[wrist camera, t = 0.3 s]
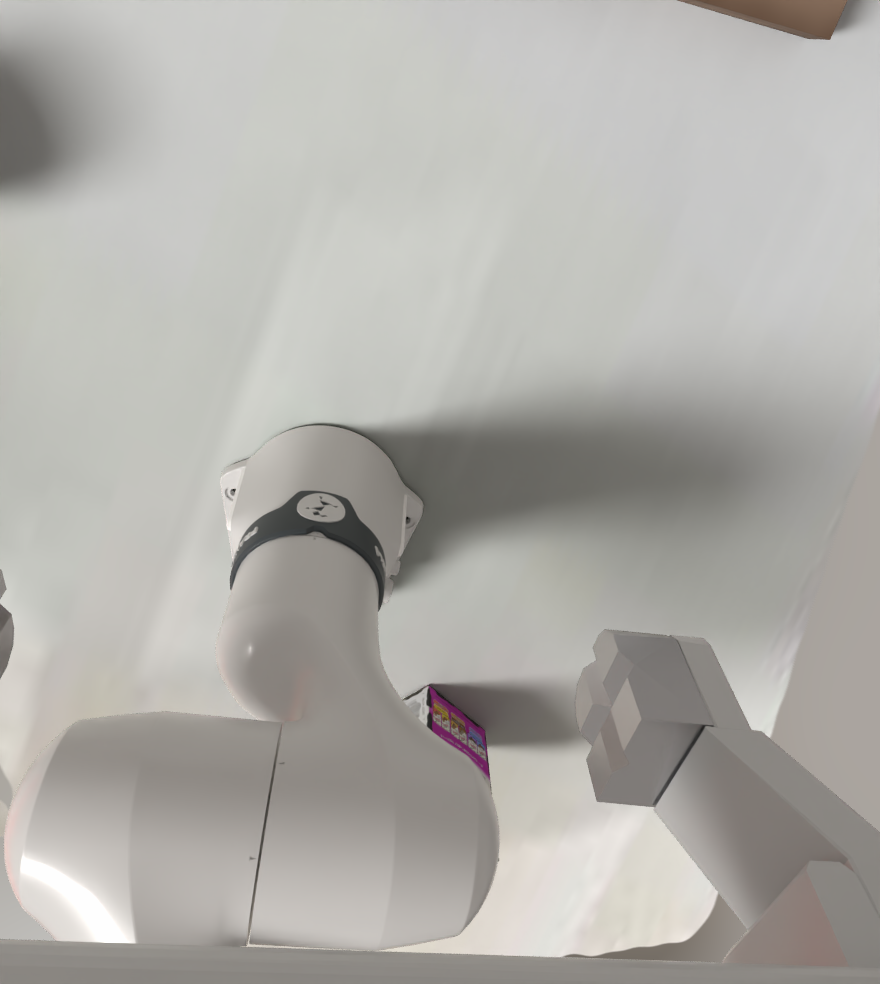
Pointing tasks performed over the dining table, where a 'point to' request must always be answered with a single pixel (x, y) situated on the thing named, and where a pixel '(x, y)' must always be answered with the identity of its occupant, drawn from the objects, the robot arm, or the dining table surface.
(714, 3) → the fader console
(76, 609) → the dining table surface
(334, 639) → the robot arm
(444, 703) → the candy bar box
